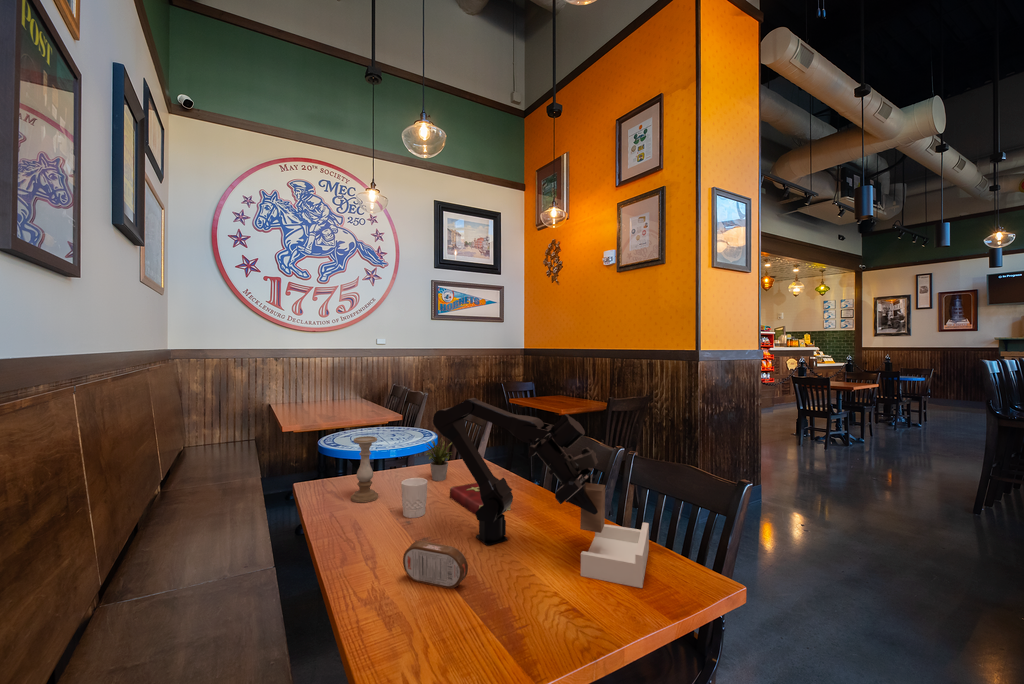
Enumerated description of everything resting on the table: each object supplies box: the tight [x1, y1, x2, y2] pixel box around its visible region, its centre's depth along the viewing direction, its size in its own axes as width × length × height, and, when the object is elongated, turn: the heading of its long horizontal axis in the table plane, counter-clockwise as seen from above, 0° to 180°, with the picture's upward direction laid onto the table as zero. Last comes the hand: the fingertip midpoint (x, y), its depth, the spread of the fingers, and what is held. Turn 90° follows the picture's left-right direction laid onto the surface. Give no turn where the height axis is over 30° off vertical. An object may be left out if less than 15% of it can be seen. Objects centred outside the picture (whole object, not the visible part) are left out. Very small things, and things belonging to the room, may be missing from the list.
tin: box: [402, 540, 469, 589], centre depth 97 cm, size 15×3×8 cm, turn 71°
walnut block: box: [579, 482, 606, 533], centre depth 109 cm, size 5×5×10 cm
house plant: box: [421, 439, 453, 482], centre depth 171 cm, size 14×14×16 cm
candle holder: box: [350, 435, 379, 504], centre depth 149 cm, size 9×9×20 cm
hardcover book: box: [449, 481, 512, 516], centre depth 146 cm, size 12×21×4 cm, turn 33°
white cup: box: [400, 477, 428, 519], centre depth 136 cm, size 8×8×10 cm
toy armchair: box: [580, 522, 650, 589], centre depth 107 cm, size 14×19×7 cm
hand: (598, 509), depth 108 cm, fingers closed on walnut block, 5 cm apart
